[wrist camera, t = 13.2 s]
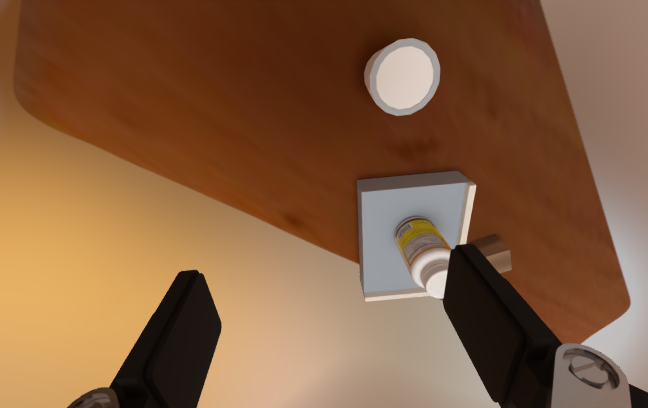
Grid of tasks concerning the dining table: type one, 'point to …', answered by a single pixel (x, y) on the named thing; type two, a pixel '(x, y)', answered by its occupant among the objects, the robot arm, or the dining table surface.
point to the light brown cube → (495, 252)
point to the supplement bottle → (424, 254)
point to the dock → (394, 208)
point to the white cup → (402, 76)
